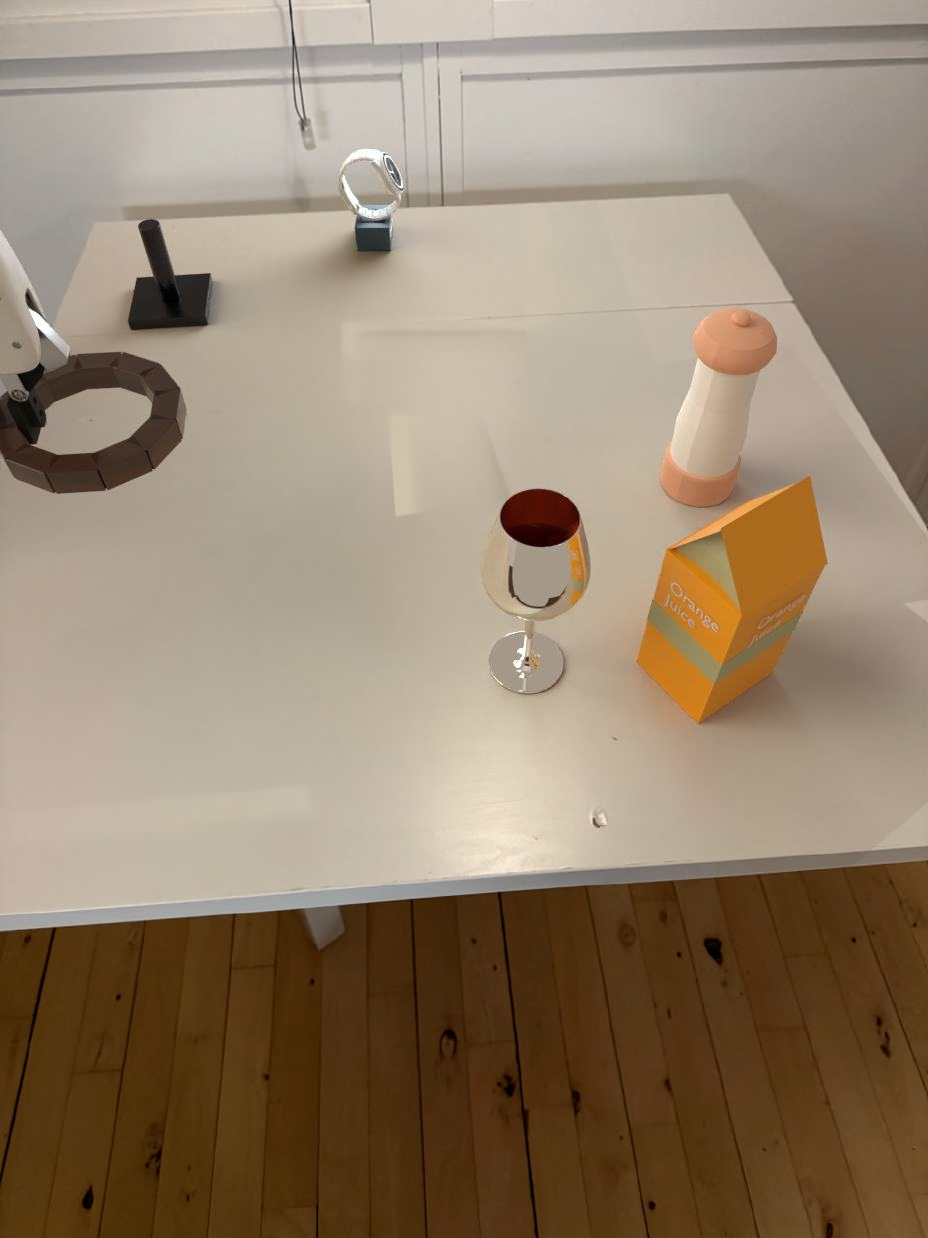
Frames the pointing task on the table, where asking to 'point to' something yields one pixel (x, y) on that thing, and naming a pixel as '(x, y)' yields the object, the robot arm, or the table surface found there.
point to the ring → (111, 461)
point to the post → (167, 289)
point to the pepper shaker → (717, 407)
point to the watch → (373, 219)
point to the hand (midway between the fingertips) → (16, 431)
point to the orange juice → (733, 599)
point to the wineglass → (534, 582)
